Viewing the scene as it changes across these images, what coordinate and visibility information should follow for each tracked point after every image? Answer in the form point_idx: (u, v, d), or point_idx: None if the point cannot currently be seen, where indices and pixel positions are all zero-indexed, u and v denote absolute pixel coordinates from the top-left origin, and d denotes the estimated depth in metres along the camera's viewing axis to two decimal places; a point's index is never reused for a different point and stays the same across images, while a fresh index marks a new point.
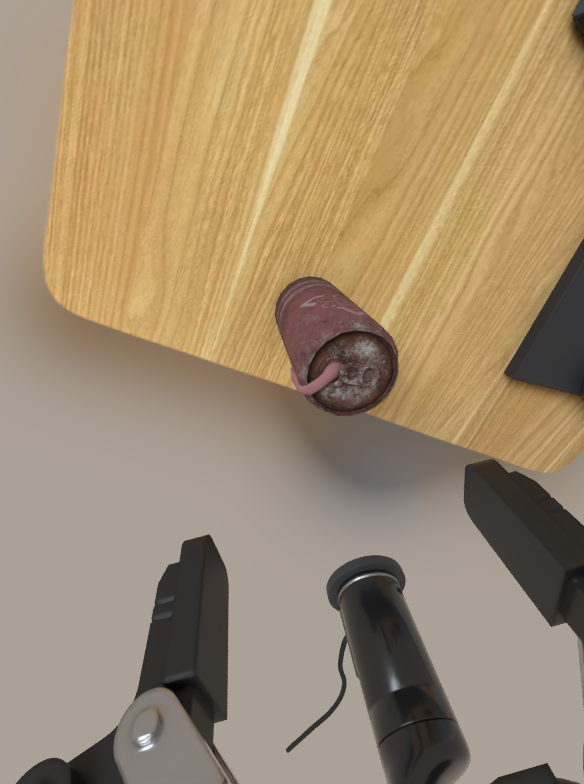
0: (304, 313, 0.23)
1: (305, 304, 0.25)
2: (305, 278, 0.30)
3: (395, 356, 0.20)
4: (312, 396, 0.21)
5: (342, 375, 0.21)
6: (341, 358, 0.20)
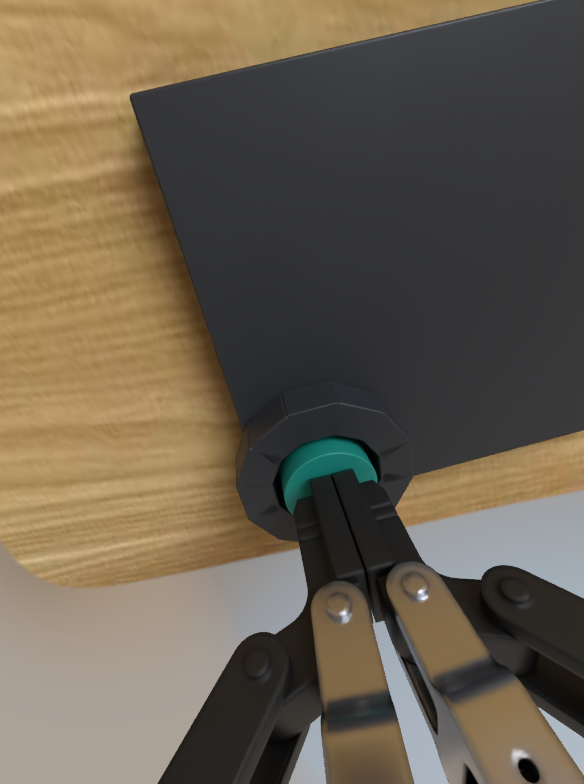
0: None
1: None
2: None
3: None
4: None
5: None
6: None
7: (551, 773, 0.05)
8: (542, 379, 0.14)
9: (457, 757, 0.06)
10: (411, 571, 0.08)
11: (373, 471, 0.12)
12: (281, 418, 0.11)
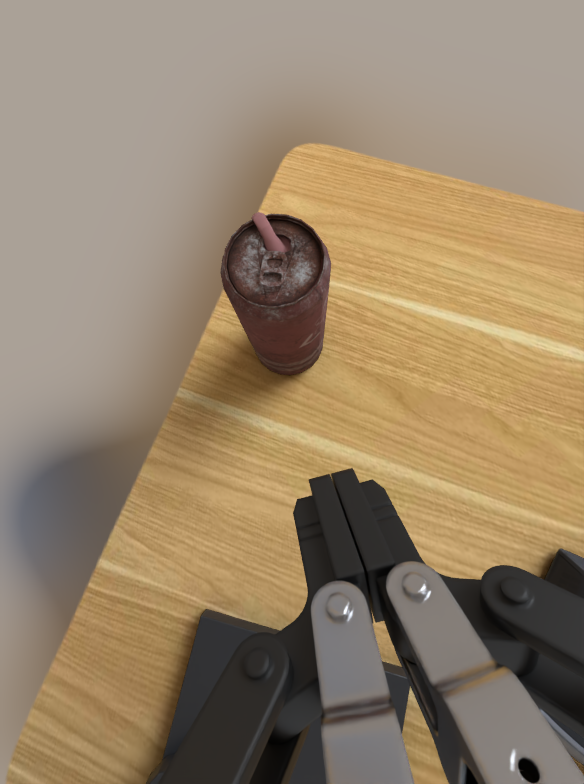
0: None
1: None
2: None
3: (294, 302, 0.19)
4: (249, 225, 0.20)
5: (271, 254, 0.20)
6: (291, 250, 0.19)
7: (551, 773, 0.05)
8: None
9: (457, 757, 0.06)
10: (411, 571, 0.08)
11: None
12: None
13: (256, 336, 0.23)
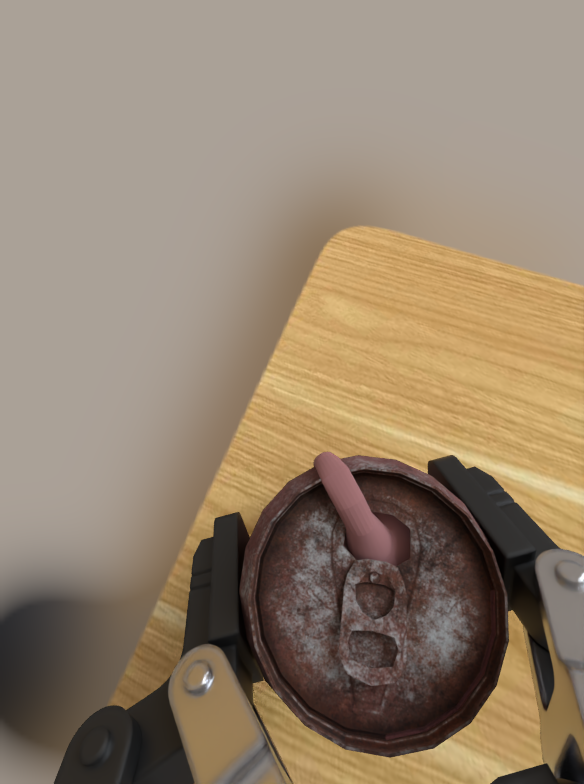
0: None
1: None
2: None
3: (435, 737, 0.07)
4: (311, 487, 0.08)
5: (365, 569, 0.08)
6: (413, 561, 0.08)
7: None
8: None
9: (563, 729, 0.06)
10: (560, 557, 0.08)
11: None
12: None
13: None
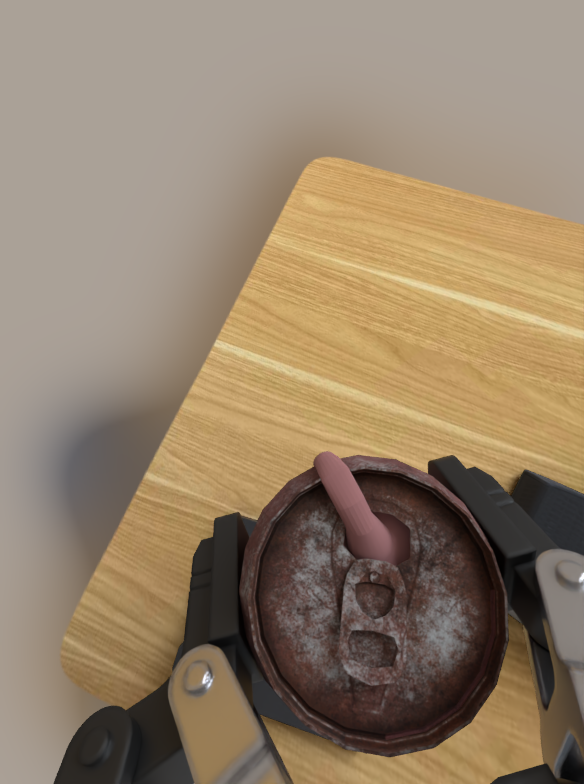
0: None
1: None
2: None
3: (435, 736, 0.07)
4: (311, 487, 0.08)
5: (365, 569, 0.08)
6: (413, 561, 0.08)
7: None
8: None
9: (563, 729, 0.06)
10: (560, 557, 0.08)
11: None
12: None
13: None
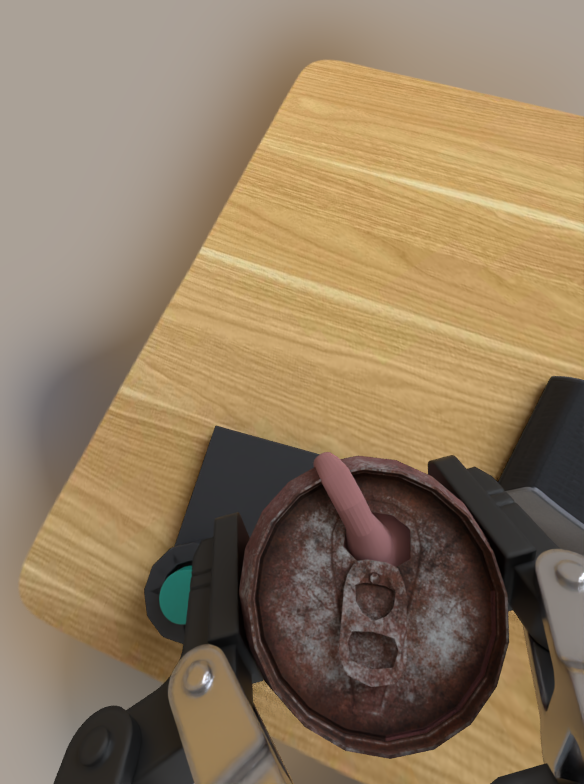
0: None
1: None
2: None
3: (435, 738, 0.07)
4: (311, 488, 0.08)
5: (365, 569, 0.08)
6: (413, 562, 0.08)
7: None
8: None
9: (563, 729, 0.06)
10: (561, 557, 0.08)
11: None
12: (190, 542, 0.25)
13: None
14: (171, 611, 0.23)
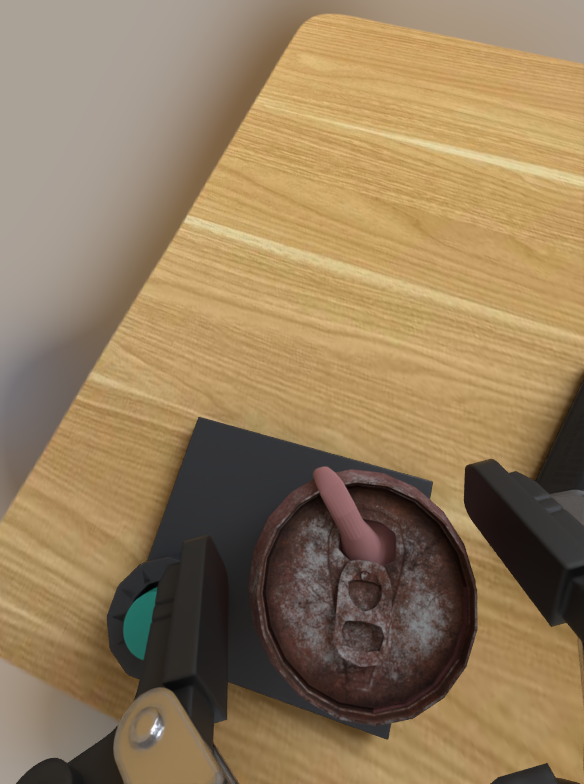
0: None
1: None
2: None
3: (415, 709, 0.08)
4: (311, 498, 0.10)
5: (357, 568, 0.09)
6: (398, 562, 0.09)
7: None
8: None
9: None
10: None
11: None
12: (164, 557, 0.21)
13: None
14: (137, 644, 0.19)
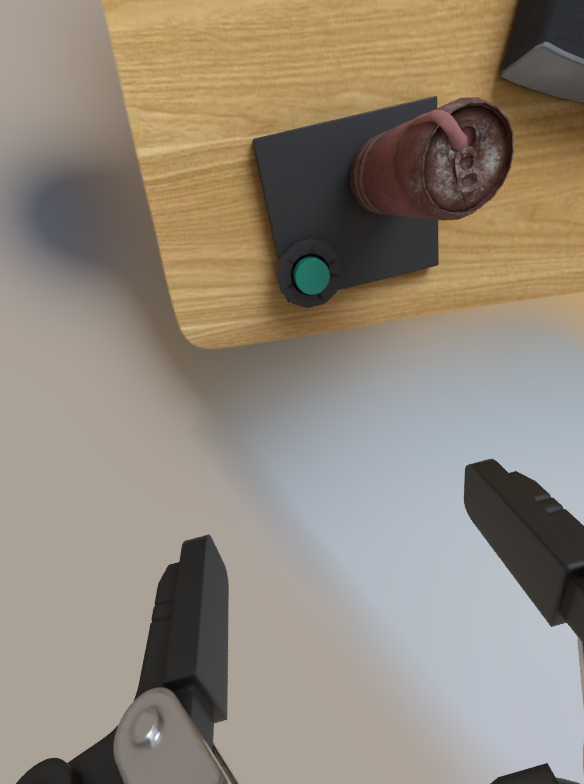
0: None
1: None
2: None
3: (492, 195, 0.22)
4: (434, 131, 0.20)
5: (460, 154, 0.21)
6: (477, 140, 0.20)
7: None
8: (394, 242, 0.35)
9: None
10: None
11: (327, 268, 0.33)
12: (293, 244, 0.33)
13: (419, 217, 0.26)
14: (310, 289, 0.34)
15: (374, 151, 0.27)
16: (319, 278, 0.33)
